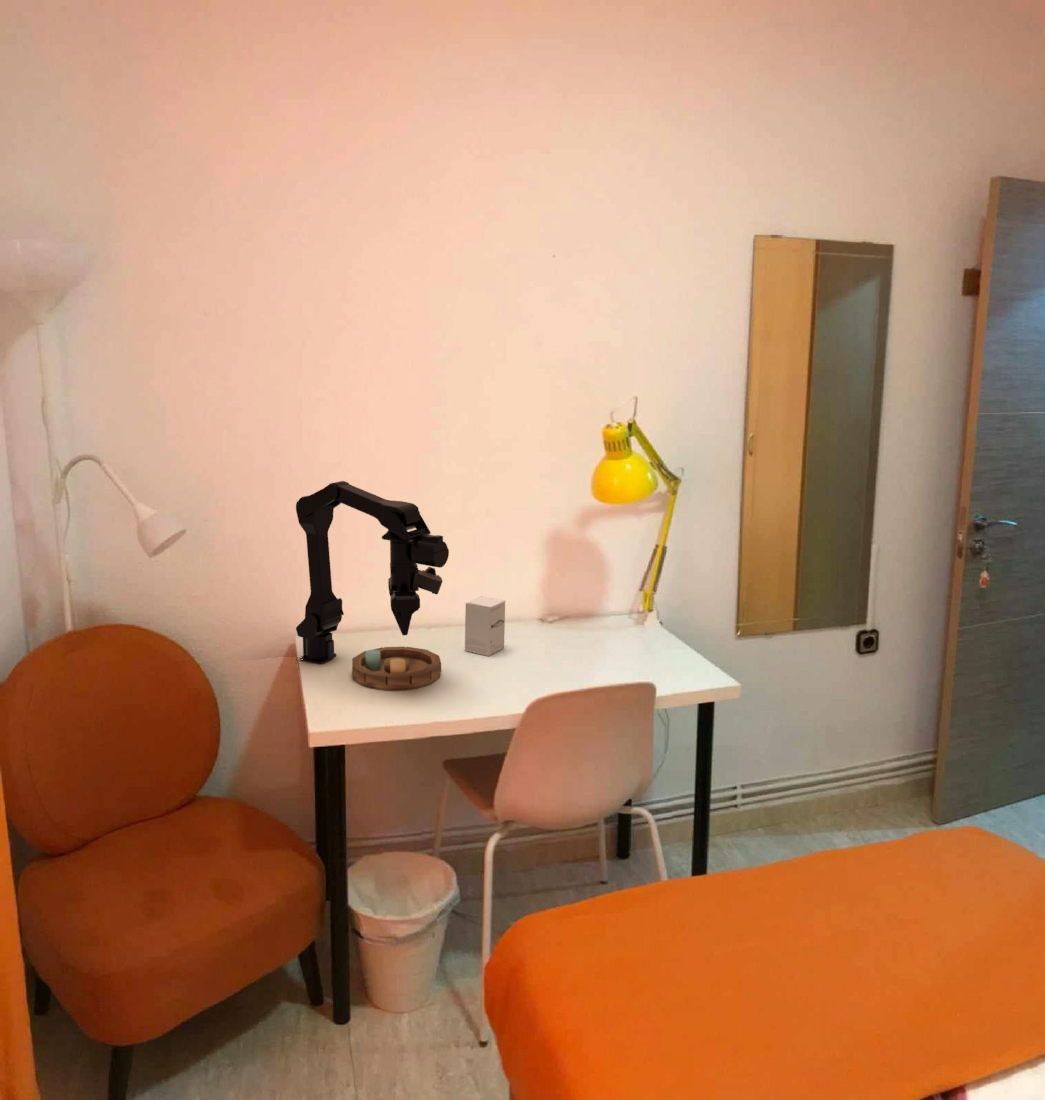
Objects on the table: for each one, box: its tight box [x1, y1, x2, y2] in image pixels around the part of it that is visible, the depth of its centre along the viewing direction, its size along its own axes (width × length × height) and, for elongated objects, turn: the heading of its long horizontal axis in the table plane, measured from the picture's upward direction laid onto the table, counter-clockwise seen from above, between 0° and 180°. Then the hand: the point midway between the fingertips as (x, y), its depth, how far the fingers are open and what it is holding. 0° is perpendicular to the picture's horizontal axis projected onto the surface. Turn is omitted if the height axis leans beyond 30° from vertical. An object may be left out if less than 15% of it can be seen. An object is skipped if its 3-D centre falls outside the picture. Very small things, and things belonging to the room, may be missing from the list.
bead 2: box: [390, 658, 406, 674], centre depth 223 cm, size 3×3×4 cm
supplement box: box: [464, 596, 506, 657], centre depth 245 cm, size 7×7×13 cm
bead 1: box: [364, 649, 381, 671], centre depth 228 cm, size 3×3×4 cm
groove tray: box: [351, 646, 442, 691], centre depth 228 cm, size 20×20×3 cm
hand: (403, 628), depth 222 cm, fingers open, 9 cm apart
